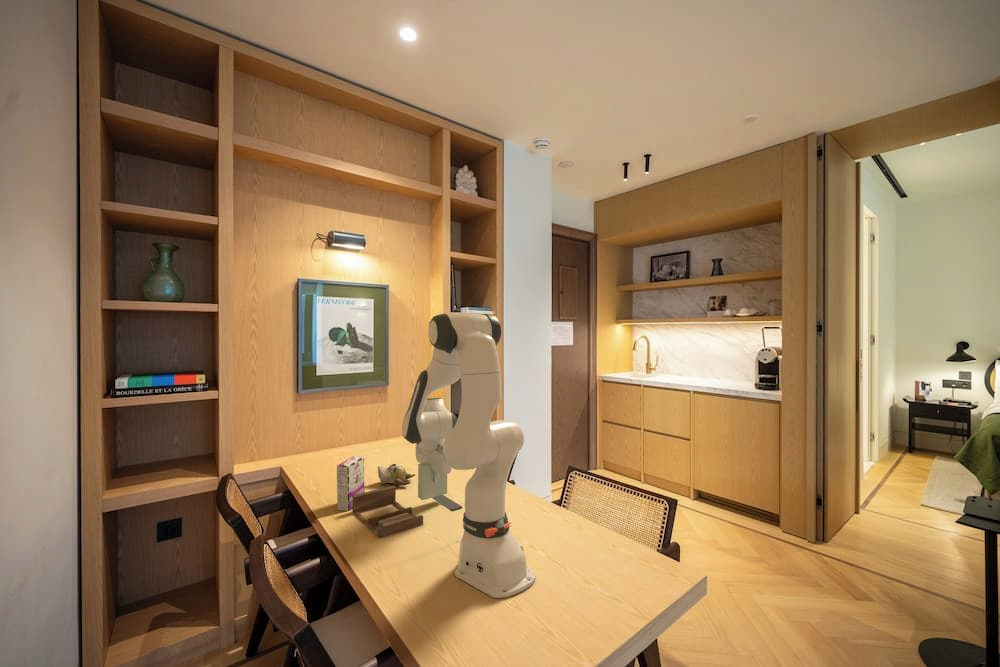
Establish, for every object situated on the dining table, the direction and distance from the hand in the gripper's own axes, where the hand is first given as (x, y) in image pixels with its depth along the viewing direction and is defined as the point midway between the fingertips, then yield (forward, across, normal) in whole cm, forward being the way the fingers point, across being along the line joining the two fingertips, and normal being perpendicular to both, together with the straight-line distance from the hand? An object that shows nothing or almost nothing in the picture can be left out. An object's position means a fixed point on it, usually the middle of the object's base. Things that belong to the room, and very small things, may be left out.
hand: (432, 479), depth 155 cm
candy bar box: (+10, +20, +23) cm, 32 cm away
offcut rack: (+10, -1, +18) cm, 21 cm away
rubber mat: (+10, 0, 0) cm, 10 cm away
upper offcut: (+9, -8, +18) cm, 21 cm away
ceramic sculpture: (+10, +30, +1) cm, 32 cm away
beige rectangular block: (+6, 0, 0) cm, 6 cm away
